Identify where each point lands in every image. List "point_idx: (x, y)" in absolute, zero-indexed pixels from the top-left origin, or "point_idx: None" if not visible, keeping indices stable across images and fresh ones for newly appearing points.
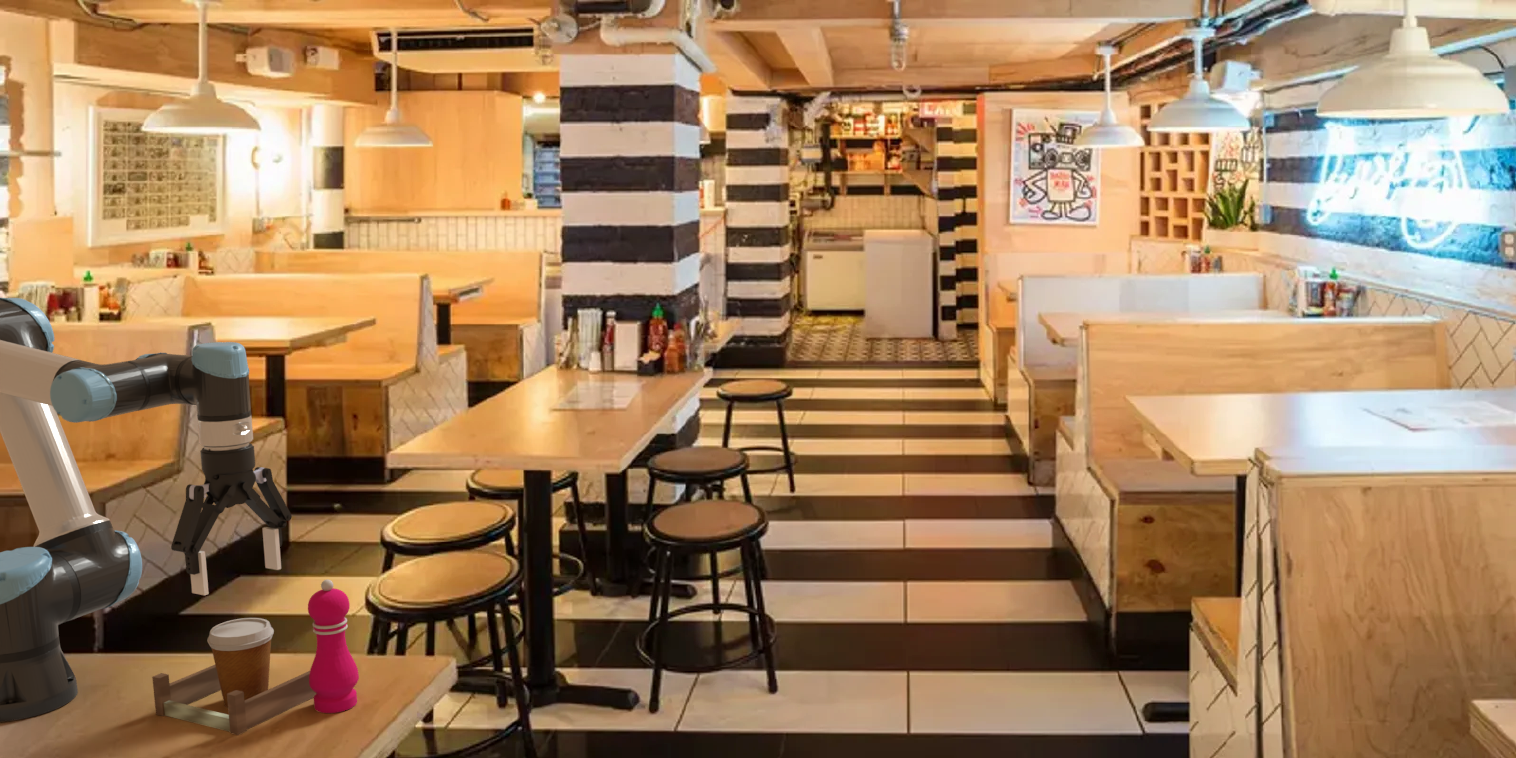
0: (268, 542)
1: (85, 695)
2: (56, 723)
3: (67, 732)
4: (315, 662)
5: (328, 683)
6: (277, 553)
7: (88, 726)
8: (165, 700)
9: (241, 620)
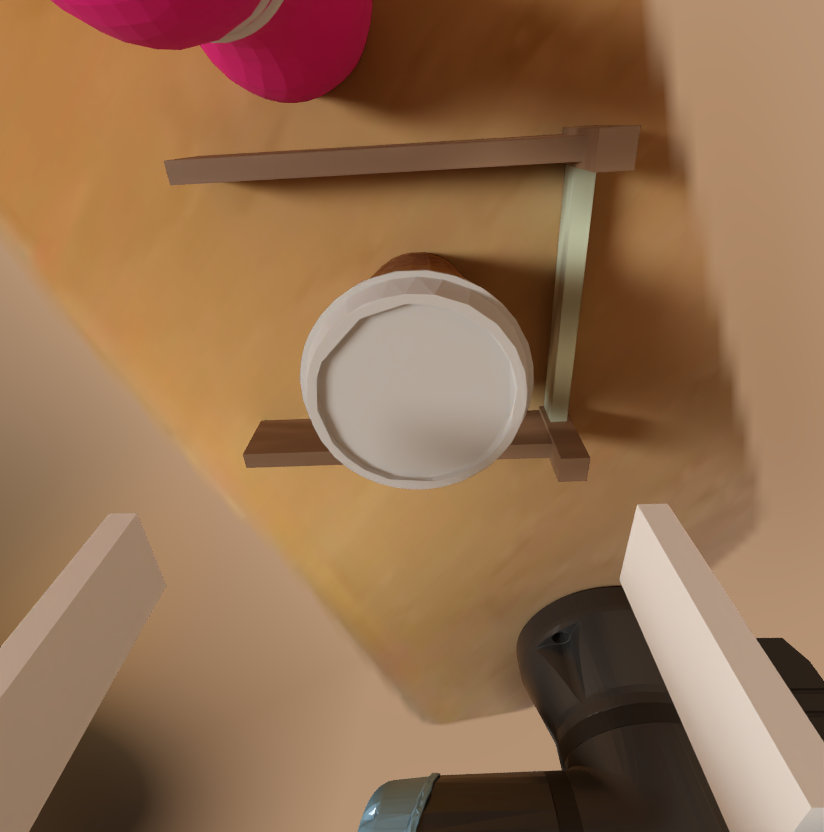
0: (56, 714)
1: (537, 596)
2: None
3: (688, 496)
4: (331, 2)
5: None
6: (66, 594)
7: (653, 487)
8: (561, 423)
9: (355, 460)
